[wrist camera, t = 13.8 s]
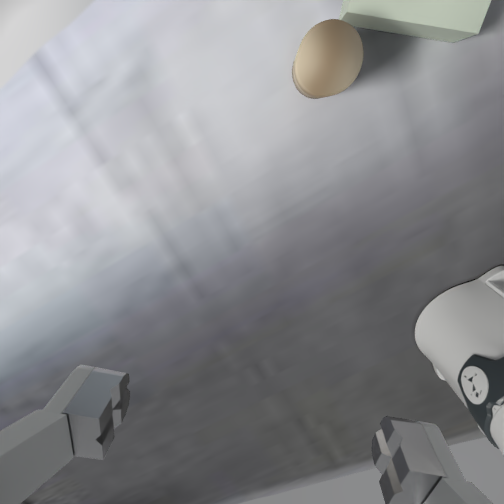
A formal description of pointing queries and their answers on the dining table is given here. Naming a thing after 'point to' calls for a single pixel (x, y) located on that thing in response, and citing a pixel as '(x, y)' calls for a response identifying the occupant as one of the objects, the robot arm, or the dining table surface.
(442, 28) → the slot block
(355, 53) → the round beech peg
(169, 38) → the dining table surface
